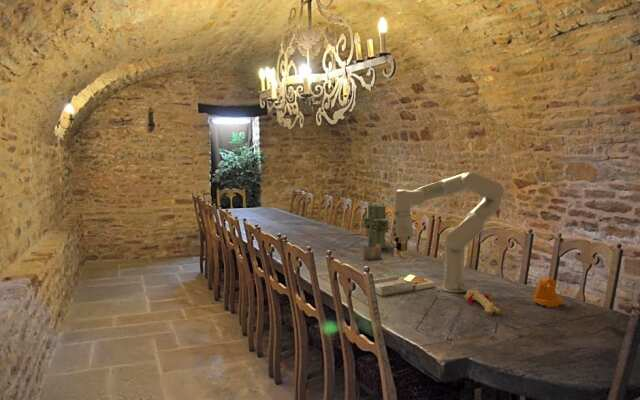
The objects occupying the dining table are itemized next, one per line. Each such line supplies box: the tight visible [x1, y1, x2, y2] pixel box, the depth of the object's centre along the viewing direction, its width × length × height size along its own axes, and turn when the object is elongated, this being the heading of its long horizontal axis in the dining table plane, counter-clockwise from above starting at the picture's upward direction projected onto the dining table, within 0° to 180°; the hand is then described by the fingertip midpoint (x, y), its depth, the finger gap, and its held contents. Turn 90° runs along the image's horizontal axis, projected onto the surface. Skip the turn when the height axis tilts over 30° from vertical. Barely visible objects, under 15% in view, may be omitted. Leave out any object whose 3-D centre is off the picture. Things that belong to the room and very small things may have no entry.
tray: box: [399, 275, 436, 291], centre depth 262 cm, size 15×13×2 cm
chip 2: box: [415, 275, 424, 285], centre depth 263 cm, size 4×4×3 cm
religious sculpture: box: [363, 204, 389, 249], centre depth 356 cm, size 24×12×30 cm, turn 15°
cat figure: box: [463, 289, 501, 316], centre depth 228 cm, size 10×9×25 cm
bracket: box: [532, 275, 564, 308], centre depth 231 cm, size 11×7×12 cm, turn 98°
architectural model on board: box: [363, 244, 382, 261], centre depth 322 cm, size 11×3×10 cm, turn 115°
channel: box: [373, 275, 414, 297], centre depth 254 cm, size 13×20×4 cm, turn 120°
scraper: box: [393, 237, 410, 260], centre depth 257 cm, size 8×3×11 cm, turn 31°
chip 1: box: [404, 274, 417, 284], centre depth 261 cm, size 4×4×3 cm
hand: (401, 249), depth 257 cm, fingers closed on scraper, 3 cm apart
